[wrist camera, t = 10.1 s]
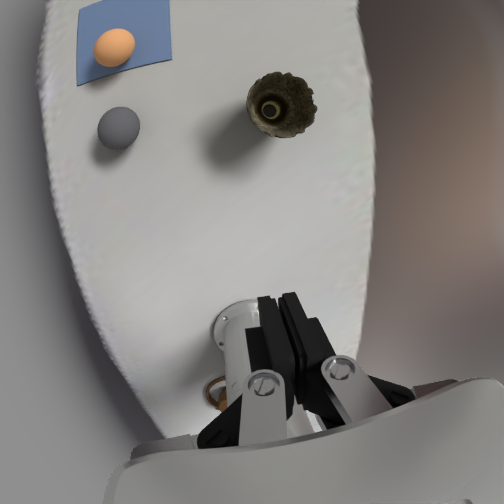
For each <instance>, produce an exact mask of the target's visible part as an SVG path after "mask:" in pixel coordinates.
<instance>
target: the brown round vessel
mask: <svg viewBox="0 0 504 504" xmlns="http://www.w3.org/2000/svg"><path fill="white" fill-rule="evenodd" d="M312 94H314V93H313V90H312V89H311V88H308V85H307V83H306V82H305V80H304V79H302V78H299V77H294V76H293V75H292V74H291V73H286V74H284V75H282V73H281V72H273V73H271V74H270V73H269V74H267V75H266V76H264V77H263V78H262V79H258V80H257V81H256V82H255V84H254V85H253V86H252V87H251V88H250V90H249V93H248V96H247V101H246V105H247V110H248V114H249V117H250V119H251V121H252V122H253V124H254V125H255V126H256V127H257V128H258V129H259V130H260V131H262V132H264V133H266V134H268V135H269V136H272V137H278V138H287V137H288V138H291V137H295V136H296V134H298V133H304V132H305V128H307V127H309V126H310V125H311V124H312V123H313V122H314V119H315V116H314V115H315V113H316V111H317V106H316V105H315V106H314V104H313V101H314V100H313V99H312ZM267 105H273V106H274V107H275V109H276V113H275V115H273V116H271V117H269V116H266V115H265V114H264V107H265V106H267Z"/></svg>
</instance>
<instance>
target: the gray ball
mask: <svg viewBox="0 0 504 504" xmlns="http://www.w3.org/2000/svg"><path fill="white" fill-rule="evenodd" d="M139 130H140V122H139V118H138V116H137V115H136V113H135V112H134V111H133V110H131V109H129V108H126V107H116V108H113V109H111V110H109V111H107V112H106V113H105V114H104V115H103V116H102V118H101V119H100V121H99V124H98V137H99V139H100V141H101V142H102V144H103V145H105V146H106V147H108V148H110V149H123V148H125V147H127V146H129V145H130V144H132V143H133V142H134V141H135V139H136V138H137V136H138V133H139Z"/></svg>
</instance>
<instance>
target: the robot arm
mask: <svg viewBox="0 0 504 504" xmlns="http://www.w3.org/2000/svg"><path fill="white" fill-rule="evenodd" d="M278 306H279V308H278ZM278 306H277V303H276V300H275V298H273V299H271V298H270V296H264V297H257V300H247V301H242V302H239V303H236V304H233V305H232V306H230V307H228V308H227V309H225V310H224V311H223V312H222V313H221V314H220V315H219V316H218V318H217V320H216V322H215V325H214V339H215V342H216V344H217V346H218V347H219V348H220V349H221V350H222V351H223V352H224V360H225V377H226V392H227V408H226V409H225V410H224V411H223V412H222V413H221V414H220V415H219V416H218V417H216V418H215V419H214V420H213V421H212V422H211V423H210V424H208V425H207V426H206V427H205V428H204V429H203V430H202V431H201V432H200V433H199V434H197V435H193V436H190V434H187V435H183V436H178V437H173V438H168V439H163V440H158V441H153V442H146V443H142V444H139V445H137V446H136V447H134V448H133V450H132V452H131V457H130V459H131V460H129V461H127V462H125V463H123V464H122V465H120V466H118V467H117V468H116V469H115V470H114V472H113V473H112V474H111V476H110V478H109V481H108V484H107V486H106V490H105V494H104V499H103V504H504V386H503V385H502V384H501V383H500V382H498V381H497V380H495V379H493V378H489V377H477V378H470V379H465V380H462V381H457V380H454V379H447V380H443V381H438V382H433V383H428V384H423V385H418V386H413V387H412V389H408V388H406V387H404V386H401V385H397V384H394V383H391V382H388V381H384V380H381V379H378V378H375V377H372V376H369V375H367V374H366V373H365V372H364V371H363V369H362V368H361V367H360V366H359V364H358V363H357V362H356V361H355V360H354V359H353V358H350V357H348V356H344V355H336V354H335V352H334V350H333V348H332V346H331V344H330V342H329V340H328V338H327V336H326V334H325V332H324V330H323V328H322V326H321V324H320V322H319V320H318V318H316V317H314V318H309V319H307V317H306V314H305V312H304V310H303V308H302V306H301V304H300V301H299V299H298V297H297V295H296V293H295V292H291V293H284V294H282V297H279V298H278ZM306 410H308V411H310V412H312V413H314V414H315V416H316V420H317V421H318V423H319V425H320V427H321V429H322V430H323V431H320V432H316V433H315V432H314V430H313V428H312V426H311V423H310V421H309V418H308V416H307V413H306Z"/></svg>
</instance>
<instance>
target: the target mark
mask: <svg viewBox="0 0 504 504" xmlns="http://www.w3.org/2000/svg"><path fill="white" fill-rule="evenodd" d="M112 29H124V30H127V31H128V32H130V33H131V34H132V36H133V37H134V40H135V48H134V51H133V53H132V55H131V56H130V58H129V59H128V60H127V61H125V62H124V63H122V64H120V65H118V66H114V67H106V66H103V65H101V64H99V63H98V62H97V61H96V59H95V57H94V46H95V43H96V41H97V40H98V38H99V37H100V36H101V35H102V34H104V33H105V32H107V31H109V30H112ZM171 59H172V52H171V34H170V9H169V0H102V1H100V2H97V3H94V4H92V5H89V6H87V7H84V8H82V9H80V10H79V21H78V37H77V86H79V85H81V84H84V83H87V82H89V81H92V80H95V79H98V78H101V77H104V76H107V75H110V74H114V73H117V72H120V71H124V70H128V69H131V68H135V67H139V66H143V65H147V64H152V63H156V62H161V61H166V60H171Z"/></svg>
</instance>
